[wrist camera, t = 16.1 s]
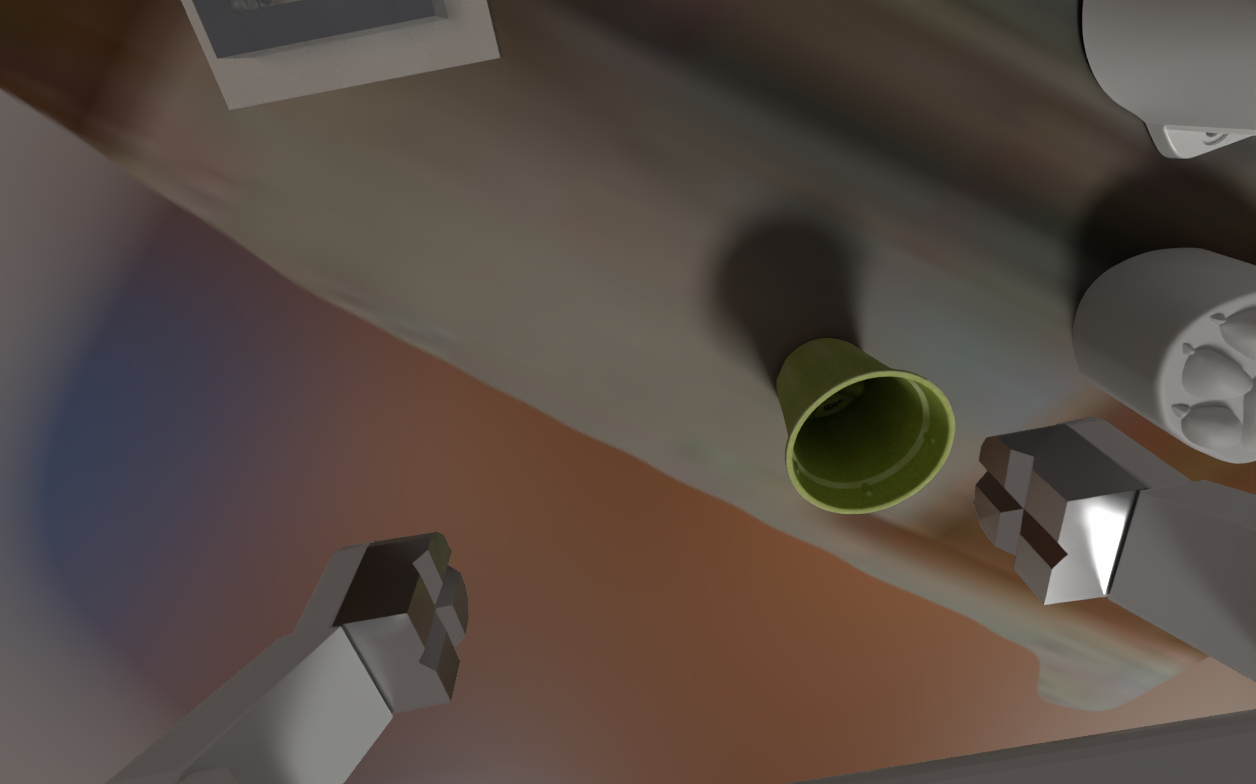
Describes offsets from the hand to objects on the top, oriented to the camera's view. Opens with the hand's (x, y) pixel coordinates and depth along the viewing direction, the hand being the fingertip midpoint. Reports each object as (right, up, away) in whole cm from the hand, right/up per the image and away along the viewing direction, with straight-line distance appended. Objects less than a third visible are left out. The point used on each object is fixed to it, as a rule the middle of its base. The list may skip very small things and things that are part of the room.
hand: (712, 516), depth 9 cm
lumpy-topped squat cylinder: (+34, +6, +32) cm, 48 cm away
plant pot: (+12, +3, +33) cm, 35 cm away
